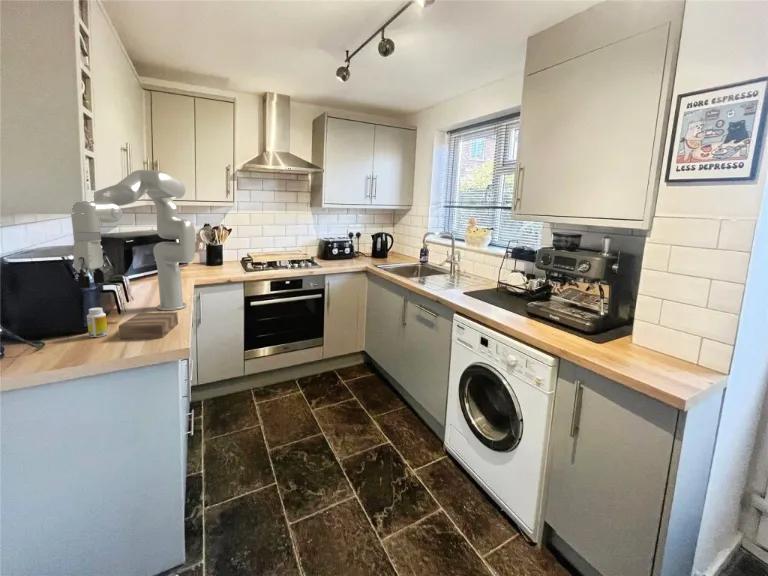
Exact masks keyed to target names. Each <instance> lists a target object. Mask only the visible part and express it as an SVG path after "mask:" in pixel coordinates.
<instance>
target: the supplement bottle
mask: <svg viewBox="0 0 768 576" xmlns="http://www.w3.org/2000/svg"><path fill="white" fill-rule="evenodd" d="M86 321H87V330H88V337H90V338H93V337H97V338H102V336H103V337H106V336H107V335H108V333H109V332H108V322H107V314H106V313H105V312H104V311H103V307H92V308H89V309H88V314H87V315H86ZM105 335H106V336H105Z"/></svg>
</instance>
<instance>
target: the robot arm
mask: <svg viewBox="0 0 768 576" xmlns="http://www.w3.org/2000/svg"><path fill="white" fill-rule="evenodd" d="M145 194H146V195H147V196H148V197H149V198H150V200H151V201H152V202H153V204H154V206H155V208H156V209H155V210H156V232H157V235H158V237H160V238H161V239H166V240H167V239H168V240H179V242H178V241H177V242H176V241H161V242H157V243H156V244H155V245H154V246H153V251H152V252H153V256H154V258H155V259H154V260H155V262H156V269H157V282H158V293H159V304H158V305H157V306H156V309H157V310H158V311H177V310H181V309H185V308H187V303H186V302H184V300H183V285H182V284H183V283H182V272H181V268H180V267H179V265H178V263H179V264H180V263H181V264H189V263H191V262H193V261H194V260H195V255H196V229H195V226H194V224H193V222H192V221H190V219H186V218H179V216H178V215H179V212H178V206H177V205H176V203H175V202H174V200H173V199H176V200H177V199H181V198H183V197H184V195H185V194H186V187H185V185H184V183H183V181H181V180H180V179H179V178H177V177H174V176H173V175H171V174H169V173H167V172H165V171H164V172H163V171H161V170H157V169H156V170H154V169H137V170H135V171H132V172H131V173H130V174H128V175H127V176H126V177H124V178H123V179H121V180H120V181H119V182H118V183H116V184H114V185H110V186H108V187H107V186H106V187H104V188H102V189H99V190H96V191H94V196H93V197H94V201H82V202H76V203H75V204H74V205H73V208H72V210H73V211H72V212H75V213H74V214H71V213H70V216H71V217H70V219H71V224H72V234H73V235H72V236H73V251H72V252H73V253H72V254H73V268H74V270H75V273H76V276H77V281H78V288H80V289H82V288H83V289H89V288H91V280H90V279H91V278H90V276H89V273H90V271H93V272H92V276H93V283H94V284H104V283H105V273H104V272H105V269H104V268H105V259H104V256H103V251H102V245H101V242H102V237H101V235H102V234H101V227H100V225H101V224H100V223H102V224H103V223H105V224H106V223H108V224H109V223H111V224H112V223H117V222H118V221H120V220H121V219H122V217H123V210H122V208H121V206H127V205H131V204H133V203H136V202H137V201H138V200H139V199H140V198H141V197H143V196H144V195H145ZM81 213H84V214H81Z"/></svg>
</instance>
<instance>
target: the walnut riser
mask: <svg viewBox="0 0 768 576" xmlns="http://www.w3.org/2000/svg"><path fill="white" fill-rule="evenodd" d="M177 324H178V325H179V316H178V312H177V311H176V312H174V311H173V312H170V311H169V312H139V313H137V314H135V315H134V316H132V317H131V318H129V319H126V320H125V321H124V322H122V323H121V324H119V325H118V333H119V340H129V339H130V340H133V339H134V338H139V339H162V338H164V337H166V335H168V334H169V333H170V332H171V331H172V330H173V329H175V328H176V326H177ZM131 338H133V339H131ZM134 340H135V339H134Z"/></svg>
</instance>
